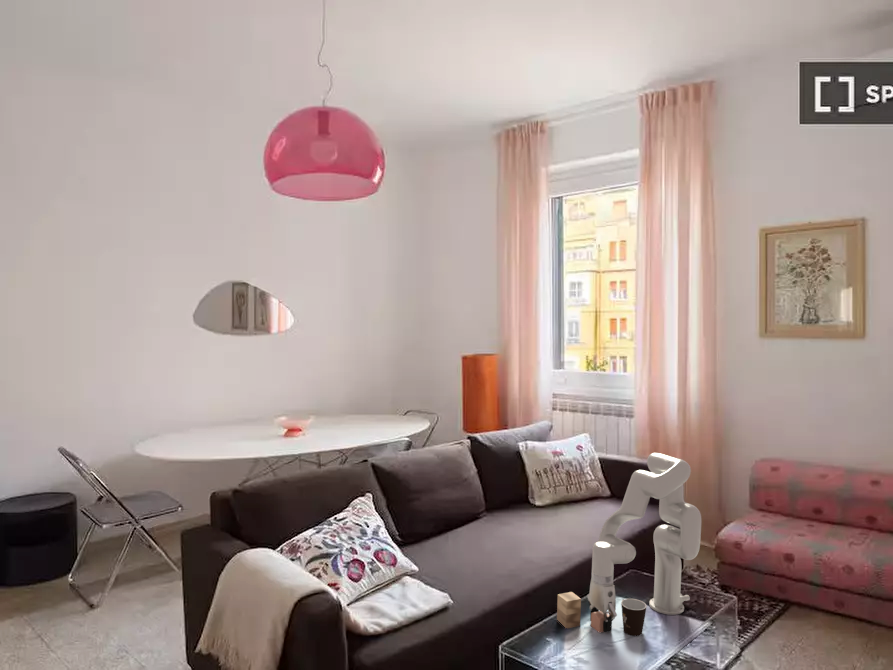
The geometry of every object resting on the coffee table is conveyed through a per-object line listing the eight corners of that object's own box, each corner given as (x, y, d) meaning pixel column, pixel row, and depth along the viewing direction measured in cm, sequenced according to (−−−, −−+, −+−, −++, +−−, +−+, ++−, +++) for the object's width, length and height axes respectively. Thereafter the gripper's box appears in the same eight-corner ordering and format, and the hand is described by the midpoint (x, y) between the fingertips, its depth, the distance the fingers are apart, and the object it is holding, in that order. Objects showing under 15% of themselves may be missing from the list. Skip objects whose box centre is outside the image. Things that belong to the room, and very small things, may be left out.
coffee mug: (646, 639, 232) (647, 611, 231) (620, 636, 233) (621, 608, 233) (643, 623, 243) (644, 596, 242) (619, 620, 245) (620, 593, 244)
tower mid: (571, 604, 245) (571, 591, 245) (580, 612, 240) (581, 598, 240) (557, 607, 243) (557, 594, 243) (566, 615, 238) (566, 601, 237)
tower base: (570, 618, 246) (571, 604, 245) (580, 625, 240) (580, 612, 240) (556, 621, 243) (557, 607, 243) (565, 628, 238) (566, 615, 238)
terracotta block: (602, 623, 242) (602, 610, 242) (610, 630, 237) (611, 616, 237) (590, 626, 240) (591, 612, 240) (599, 632, 236) (599, 619, 235)
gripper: (626, 586, 231) (624, 635, 232) (596, 566, 247) (595, 613, 248) (608, 589, 228) (606, 639, 229) (579, 569, 244) (578, 616, 245)
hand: (600, 625), depth 239 cm, fingers open, 7 cm apart
